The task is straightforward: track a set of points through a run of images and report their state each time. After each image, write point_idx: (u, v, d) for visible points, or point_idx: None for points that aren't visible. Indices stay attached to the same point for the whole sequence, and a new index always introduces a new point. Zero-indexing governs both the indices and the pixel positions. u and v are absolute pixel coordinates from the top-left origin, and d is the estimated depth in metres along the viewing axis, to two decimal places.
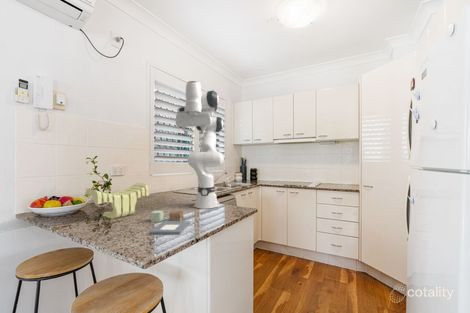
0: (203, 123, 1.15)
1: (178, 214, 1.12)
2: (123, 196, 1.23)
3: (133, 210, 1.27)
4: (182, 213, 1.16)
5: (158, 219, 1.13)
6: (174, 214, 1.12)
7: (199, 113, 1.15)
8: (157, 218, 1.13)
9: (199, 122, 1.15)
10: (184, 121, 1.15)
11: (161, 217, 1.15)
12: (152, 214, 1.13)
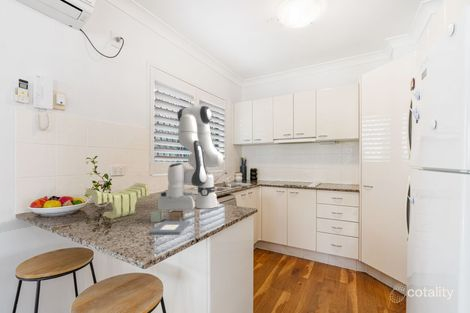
0: (186, 208, 1.12)
1: (178, 214, 1.12)
2: (123, 196, 1.23)
3: (133, 210, 1.27)
4: (182, 212, 1.16)
5: (158, 219, 1.13)
6: (174, 214, 1.12)
7: (181, 197, 1.13)
8: (157, 218, 1.13)
9: (181, 207, 1.13)
10: (166, 205, 1.13)
11: (161, 217, 1.15)
12: (152, 214, 1.13)
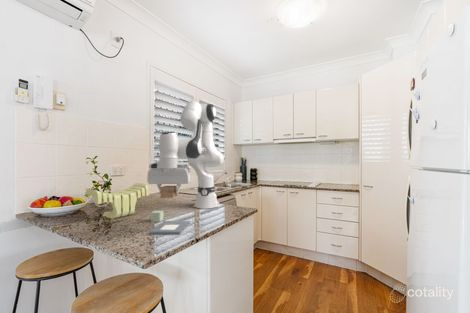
0: (179, 182, 0.98)
1: (171, 188, 0.97)
2: (123, 196, 1.23)
3: (133, 210, 1.27)
4: (176, 188, 1.01)
5: (158, 219, 1.13)
6: (166, 188, 0.97)
7: (175, 170, 0.98)
8: (157, 218, 1.13)
9: (174, 180, 0.98)
10: (158, 179, 0.98)
11: (161, 217, 1.15)
12: (152, 214, 1.13)
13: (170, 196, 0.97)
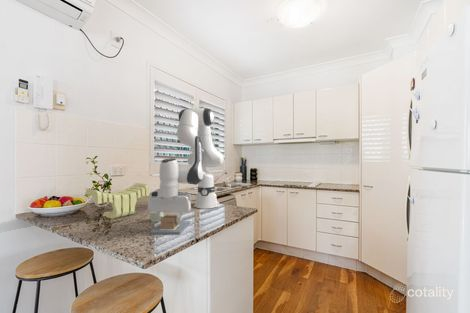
0: (180, 210, 0.97)
1: (171, 219, 0.97)
2: (123, 196, 1.23)
3: (133, 210, 1.27)
4: None
5: None
6: (167, 219, 0.97)
7: (175, 198, 0.98)
8: (157, 218, 1.13)
9: (175, 208, 0.98)
10: (158, 207, 0.98)
11: None
12: (152, 214, 1.13)
13: (171, 227, 0.97)
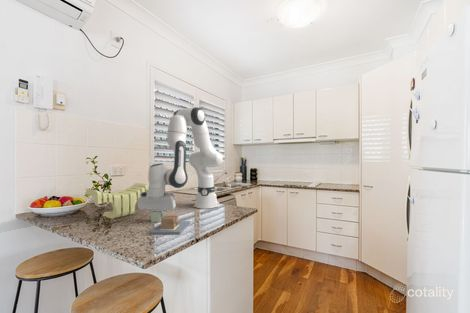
0: (166, 208, 1.13)
1: (171, 219, 0.97)
2: (123, 196, 1.23)
3: (133, 210, 1.27)
4: (177, 218, 1.01)
5: (158, 219, 1.13)
6: (167, 219, 0.97)
7: (162, 197, 1.14)
8: (157, 217, 1.13)
9: (162, 207, 1.13)
10: (147, 206, 1.14)
11: None
12: (152, 214, 1.13)
13: (171, 227, 0.97)
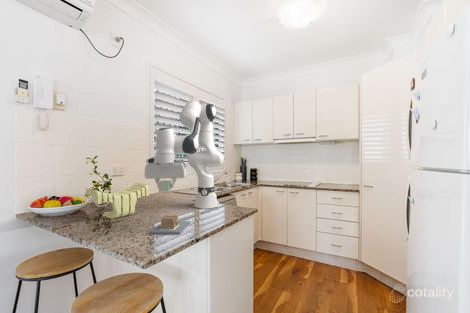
0: (176, 176, 1.00)
1: (171, 219, 0.97)
2: (123, 196, 1.23)
3: (133, 210, 1.27)
4: (177, 218, 1.01)
5: (167, 188, 1.00)
6: (167, 219, 0.97)
7: (171, 164, 1.00)
8: (166, 187, 1.00)
9: (171, 175, 1.00)
10: (154, 174, 1.01)
11: None
12: (160, 183, 1.00)
13: (171, 227, 0.97)
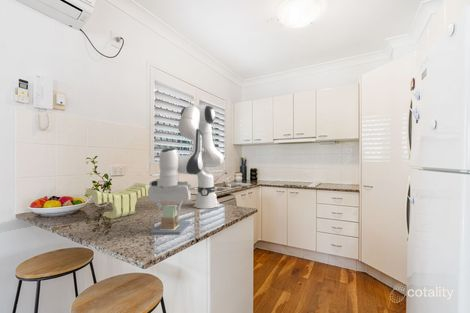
0: (180, 199, 0.98)
1: (171, 219, 0.97)
2: (123, 196, 1.23)
3: (133, 210, 1.27)
4: (177, 218, 1.01)
5: (171, 215, 0.97)
6: (167, 219, 0.97)
7: (175, 187, 0.98)
8: (170, 213, 0.97)
9: (175, 198, 0.98)
10: (158, 197, 0.98)
11: (174, 213, 0.99)
12: (164, 209, 0.97)
13: (171, 227, 0.97)
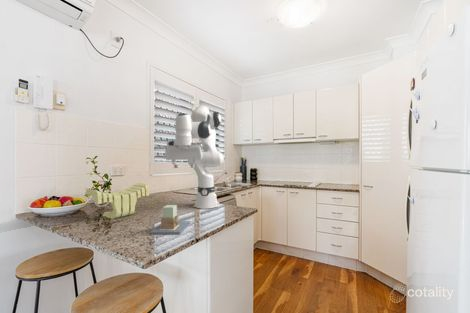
0: (193, 157, 1.12)
1: (171, 219, 0.97)
2: (123, 196, 1.23)
3: (133, 210, 1.27)
4: (177, 218, 1.01)
5: (171, 215, 0.97)
6: (167, 219, 0.97)
7: (189, 147, 1.12)
8: (170, 213, 0.97)
9: (189, 156, 1.12)
10: (174, 155, 1.12)
11: (174, 213, 0.99)
12: (164, 209, 0.97)
13: (171, 227, 0.97)
